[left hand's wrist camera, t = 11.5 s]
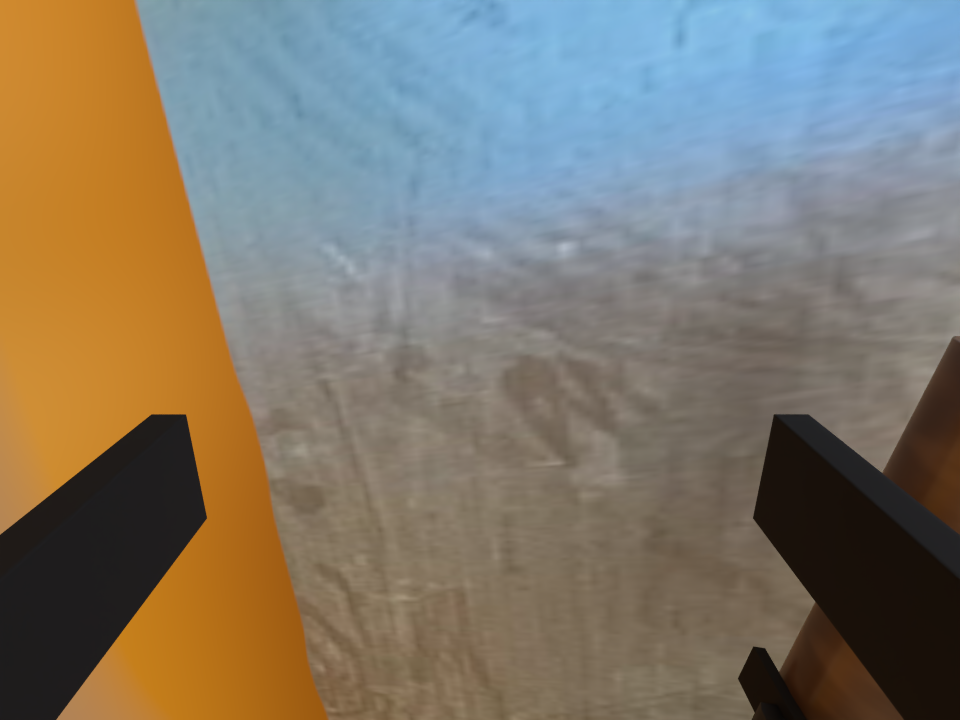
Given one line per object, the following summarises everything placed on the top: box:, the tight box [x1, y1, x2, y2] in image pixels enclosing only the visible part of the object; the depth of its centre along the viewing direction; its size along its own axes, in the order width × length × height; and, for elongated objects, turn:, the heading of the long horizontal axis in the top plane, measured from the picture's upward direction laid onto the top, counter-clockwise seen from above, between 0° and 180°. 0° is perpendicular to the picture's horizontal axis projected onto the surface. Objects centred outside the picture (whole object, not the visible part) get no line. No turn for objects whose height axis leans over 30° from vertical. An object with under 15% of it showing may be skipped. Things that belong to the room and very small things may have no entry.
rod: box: [779, 336, 960, 720], centre depth 29 cm, size 26×8×8 cm, turn 168°
